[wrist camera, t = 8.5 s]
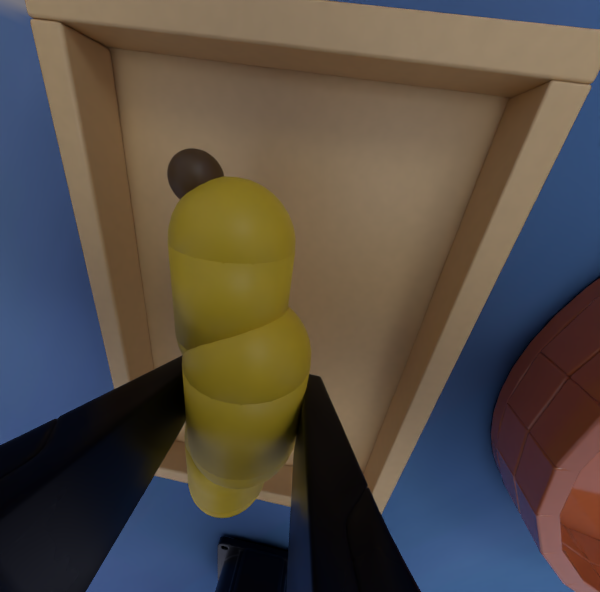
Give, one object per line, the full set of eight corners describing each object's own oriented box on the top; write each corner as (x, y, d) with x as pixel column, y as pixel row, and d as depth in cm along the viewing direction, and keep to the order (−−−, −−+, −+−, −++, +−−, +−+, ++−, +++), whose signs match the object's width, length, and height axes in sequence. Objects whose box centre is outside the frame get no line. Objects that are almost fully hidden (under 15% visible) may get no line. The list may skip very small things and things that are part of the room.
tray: (371, 482, 14) (375, 527, 12) (156, 435, 15) (132, 471, 13) (544, 68, 7) (621, 30, 5) (93, 15, 7) (14, -36, 6)
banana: (289, 472, 11) (272, 575, 8) (209, 454, 11) (165, 548, 9) (345, 171, 6) (351, 168, 3) (201, 150, 6) (90, 131, 4)
